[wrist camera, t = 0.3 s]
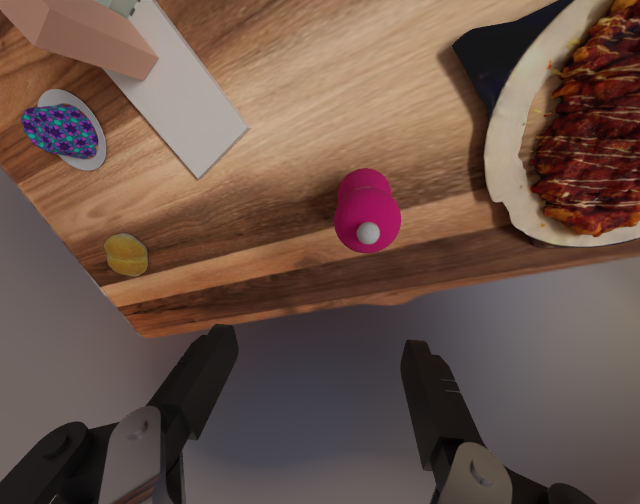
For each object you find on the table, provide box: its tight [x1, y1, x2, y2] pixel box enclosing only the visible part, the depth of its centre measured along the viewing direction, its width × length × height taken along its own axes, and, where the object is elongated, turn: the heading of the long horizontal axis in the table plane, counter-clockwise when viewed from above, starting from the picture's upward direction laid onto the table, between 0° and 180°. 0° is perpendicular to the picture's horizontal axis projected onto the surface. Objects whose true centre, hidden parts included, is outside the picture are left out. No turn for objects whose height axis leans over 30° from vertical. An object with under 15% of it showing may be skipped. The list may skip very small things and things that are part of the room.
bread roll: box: [104, 233, 148, 276], centre depth 46 cm, size 8×9×4 cm
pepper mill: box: [334, 168, 401, 253], centre depth 26 cm, size 7×7×20 cm
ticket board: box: [94, 0, 251, 179], centre depth 30 cm, size 32×12×4 cm, turn 37°
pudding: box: [21, 89, 106, 171], centre depth 36 cm, size 12×12×5 cm
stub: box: [0, 0, 159, 80], centre depth 25 cm, size 5×4×12 cm
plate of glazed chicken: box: [452, 0, 640, 248], centre depth 25 cm, size 31×35×7 cm
